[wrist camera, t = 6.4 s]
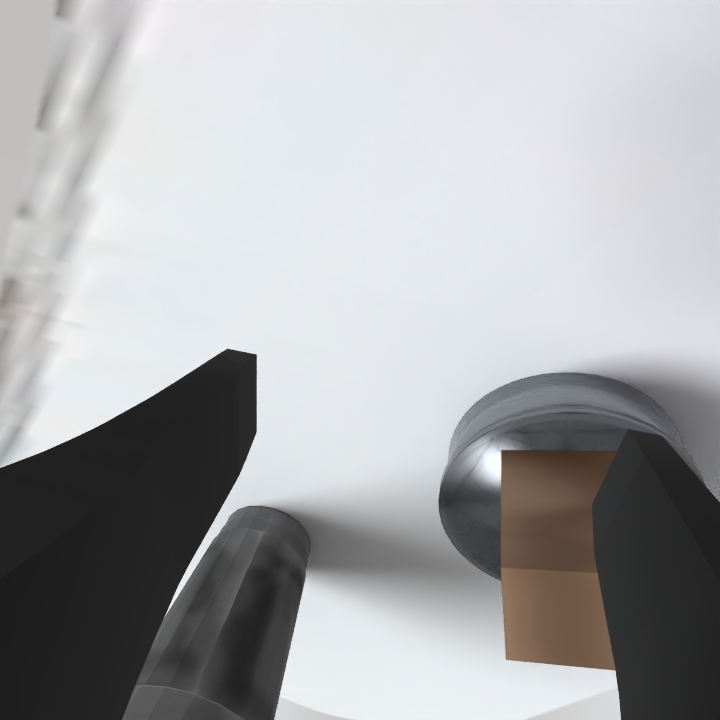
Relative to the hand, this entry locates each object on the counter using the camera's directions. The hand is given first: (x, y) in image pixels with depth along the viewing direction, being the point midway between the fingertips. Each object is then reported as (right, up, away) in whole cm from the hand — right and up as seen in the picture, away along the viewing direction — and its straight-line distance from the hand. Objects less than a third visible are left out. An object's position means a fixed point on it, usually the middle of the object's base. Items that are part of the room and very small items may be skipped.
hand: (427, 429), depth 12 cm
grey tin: (+7, -3, +13) cm, 15 cm away
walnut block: (+6, -4, +10) cm, 12 cm away
